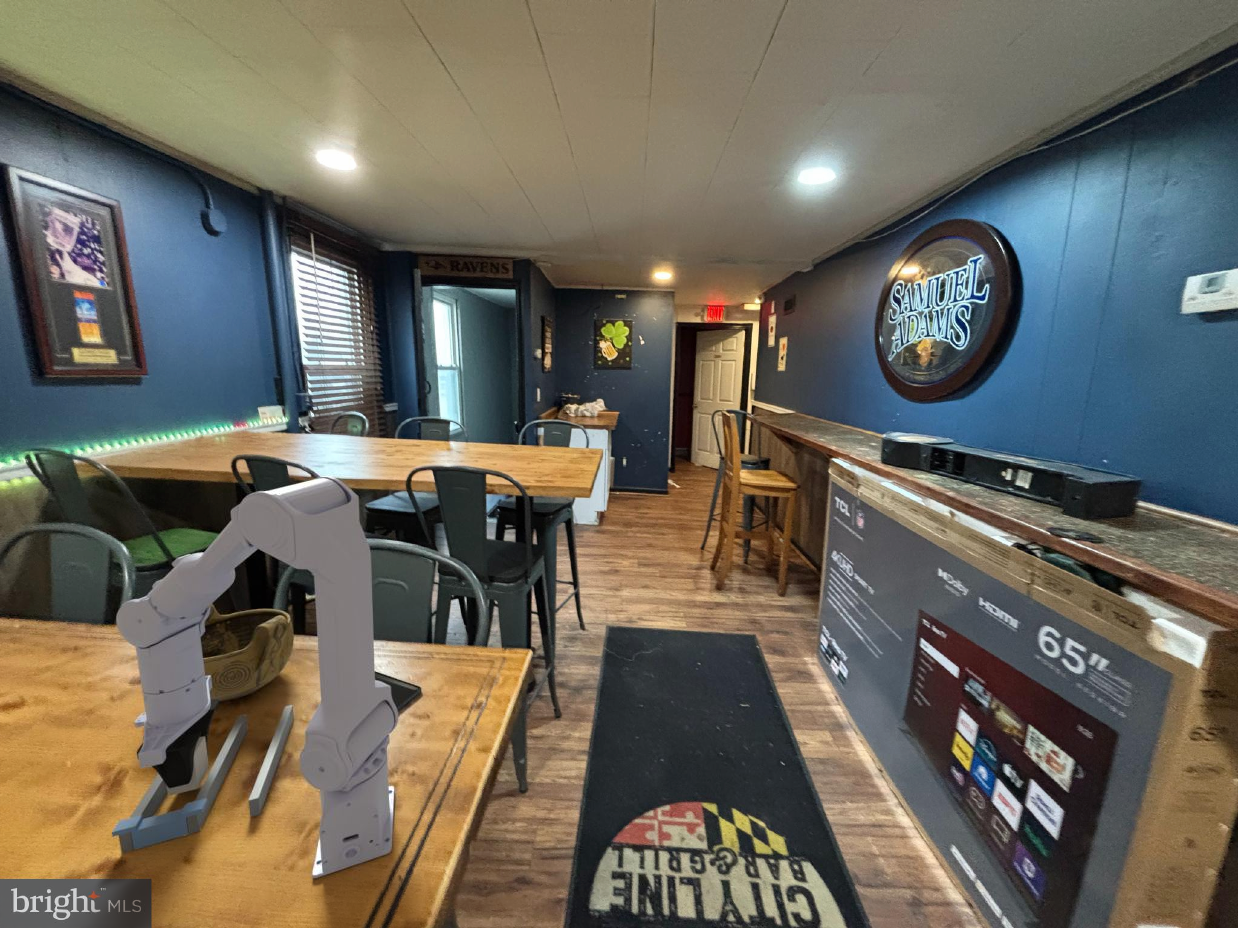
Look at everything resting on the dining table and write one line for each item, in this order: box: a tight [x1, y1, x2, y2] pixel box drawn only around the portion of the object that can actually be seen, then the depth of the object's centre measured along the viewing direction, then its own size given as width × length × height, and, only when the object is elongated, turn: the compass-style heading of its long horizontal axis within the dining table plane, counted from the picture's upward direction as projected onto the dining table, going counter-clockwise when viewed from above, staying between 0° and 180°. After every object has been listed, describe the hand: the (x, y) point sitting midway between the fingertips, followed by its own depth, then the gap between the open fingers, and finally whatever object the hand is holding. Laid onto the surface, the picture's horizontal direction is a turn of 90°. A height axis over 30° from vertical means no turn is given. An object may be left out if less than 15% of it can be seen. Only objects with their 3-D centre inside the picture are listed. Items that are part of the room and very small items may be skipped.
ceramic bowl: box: [200, 603, 295, 702], centre depth 79 cm, size 22×17×15 cm
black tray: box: [375, 670, 422, 714], centre depth 80 cm, size 8×1×15 cm
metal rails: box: [111, 704, 295, 854], centre depth 63 cm, size 18×14×3 cm
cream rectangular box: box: [166, 736, 210, 797], centre depth 60 cm, size 4×3×5 cm
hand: (187, 771), depth 60 cm, fingers closed on cream rectangular box, 3 cm apart
